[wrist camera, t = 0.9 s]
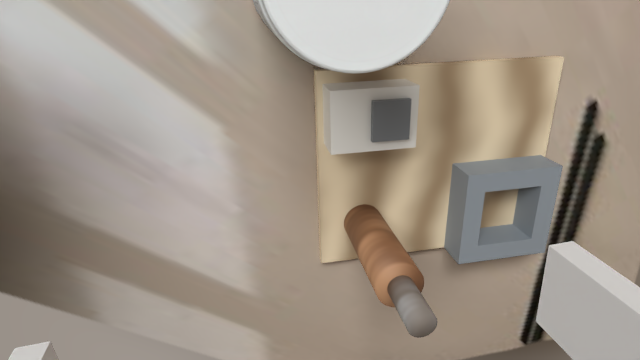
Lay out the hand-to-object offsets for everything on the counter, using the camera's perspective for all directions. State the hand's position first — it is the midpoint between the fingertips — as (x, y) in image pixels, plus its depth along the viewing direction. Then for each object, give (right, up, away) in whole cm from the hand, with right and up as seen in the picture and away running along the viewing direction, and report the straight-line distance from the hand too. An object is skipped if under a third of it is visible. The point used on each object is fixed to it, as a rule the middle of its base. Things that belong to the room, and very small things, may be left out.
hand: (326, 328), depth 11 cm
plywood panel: (+10, +6, +29) cm, 31 cm away
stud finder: (+4, +10, +24) cm, 27 cm away
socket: (+17, +2, +30) cm, 35 cm away
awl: (+4, 0, +29) cm, 29 cm away
